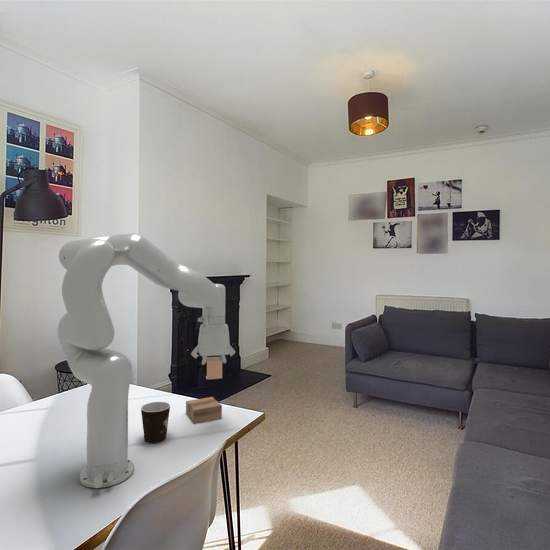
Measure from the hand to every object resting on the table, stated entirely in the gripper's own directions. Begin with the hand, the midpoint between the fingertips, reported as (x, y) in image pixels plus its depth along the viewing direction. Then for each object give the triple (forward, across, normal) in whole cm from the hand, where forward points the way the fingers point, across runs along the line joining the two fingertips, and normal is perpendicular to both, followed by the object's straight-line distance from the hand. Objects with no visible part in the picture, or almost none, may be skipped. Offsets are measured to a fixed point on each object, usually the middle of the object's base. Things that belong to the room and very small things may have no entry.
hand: (213, 374), depth 123 cm
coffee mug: (+18, -20, -5) cm, 27 cm away
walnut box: (+18, -2, +10) cm, 20 cm away
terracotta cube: (+1, 0, 0) cm, 1 cm away
